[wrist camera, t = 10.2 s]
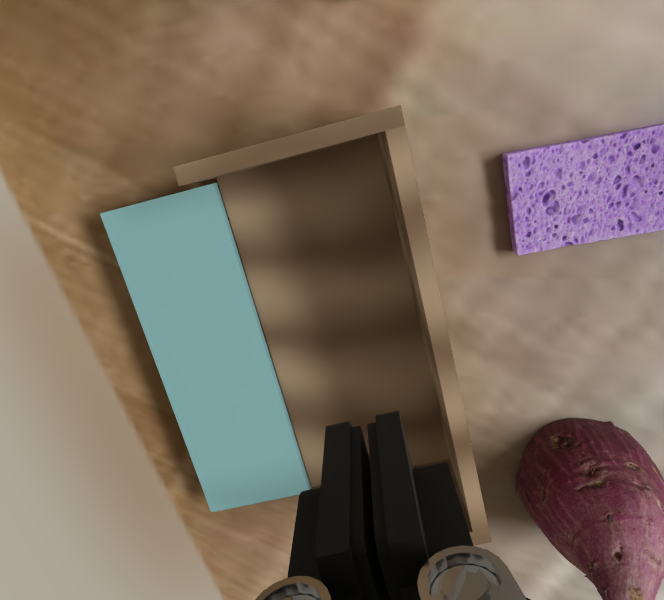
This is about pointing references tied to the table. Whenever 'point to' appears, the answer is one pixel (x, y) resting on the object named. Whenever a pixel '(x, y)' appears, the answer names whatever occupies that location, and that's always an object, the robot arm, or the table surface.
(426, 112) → the table surface
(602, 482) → the vegetable
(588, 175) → the sponges
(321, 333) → the tray
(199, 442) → the panel
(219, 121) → the table surface
